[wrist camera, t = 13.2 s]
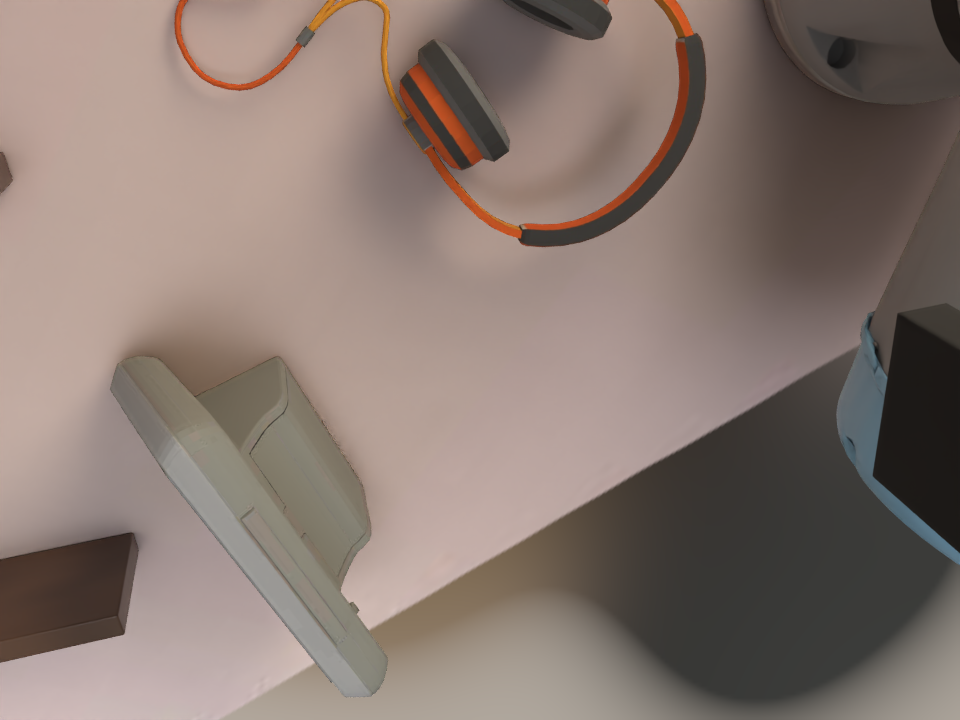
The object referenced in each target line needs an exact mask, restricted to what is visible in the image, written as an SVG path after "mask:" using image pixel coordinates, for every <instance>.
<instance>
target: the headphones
mask: <svg viewBox="0 0 960 720" xmlns="http://www.w3.org/2000/svg"><path fill="white" fill-rule="evenodd" d="M187 1H188V0H180V1H179V3H178V6H177V9H176V13H175V23H174V24H175V35H176V39H177V43H178V45H179V48H180V50H181V52H182V54H183V56H184V58H185V60H186V61H187V62H188V64H189V65H190V67H191V68H192V70H193V71H194V72H195V73H196V74H197V75H198V76H199V77H201V78H202V79H203V80H205V81H207V82H209V83H210V84H212V85H214V86H218V87H221V88H224V89H229V90H239V91H241V90H248V89H252V88H255V87H257V86H260V85H262V84H264V83H265V82H267V81H268V80H270V79H272V78H273V77H274V76H276V75H277V74H278V73H279V72H281V71H282V70H283V69H284V68H285V67H286V66H287V65H288V64H289V62H290V61H291V60H292V59H293V58H294V57H295V55H296V54H297V53H298V51H299V50H300V49H301V47H302V46H303V47H304V48H305V46H306V45H307V44H308V42H309V41H310V40H311V38H312V37H313V36H314V34H315V33H314V31H315V30H316V29H317V28H318V27H319V26H320V25H321V24H322V23H323V22H324V21H325V20H326V19H327V18H328V17H330V16H331V15H332V14H333V13H334V12H336V11H337V10H339V9H340V8H342V7H344V6H346V5H348V4H350V3H353V2H357V1H361V0H341V1H340V2H338V3H337V4H335V5H333V4H334V3H335V1H336V0H328V1H327V2H326V4H325V5H324V6H323V7H322V9H321V10H320V11H319V12H318V14H317V15H316V16H315V18H314V19H313V21H312V22H311V24H310V25H309V26H308V27H307V26H306V27H305V28H304V29H303V31H302V32H301V33H300V35H299V36H298V37H297V39H296V41H297V42H298V43H297V44H296V45H295V47H294V48H293V49H292V51H291V52H290V53H289V54H288V56H287V57H286V58H285V59H284V60H283V61H282V62H281V63H280V64H279V65H278V66H277V67H276V68H275V69H273V70H272V71H271V72H270V73H268V74H267V75H265V76H263V77H262V78H260V79H258V80H256V81H253V82H251V83H247V84H241V85H238V84H228V83H224V82H221V81H218V80H215V79H213V78H211V77H209V76H208V75H206V74H204V73H203V72H202V71H201V70H200V69H199V68H198V67H197V66H196V64H195V63H194V61H193V60H192V58H191V57H190V55H189V54H188V51H187V49H186V47H185V45H184V43H183V39H182V35H181V25H180V24H181V16H182V10H183V8H184V6H185V4H186V2H187ZM367 1H371V2H373V3H375V4H377V5H378V6H379V7H380V8H381V9H382V10H383V13H384V24H383V35H382V46H381V61H382V71H383V76H384V81H385V84H386V87H387V90H388V93H389V95H390V97H391V99H392V101H393V103H394V105H395V107H396V109H397V110H398V112H399V114H400V115H401V117H402V118H403V125H404V127H405V128H406V130H407V131H408V133H409V134H410V136H411V137H412V139H413V140H414V141H415V143H416V144H417V146H418V147H419V148H420V150H421V151H422V152H423V153H424V154H427V156H428V157H429V159H430V161H431V162H432V164H433V166H434V167H435V168H436V170H437V171H438V173H439V174H440V175H441V177H442V178H443V179H444V181H445V182H446V184H447V185H448V186H449V187H450V188H451V189H452V190H453V191H454V193H455V194H456V195H457V196H458V197H459V198H460V199H461V201H462V202H463V203H464V204H465V205H466V206H467V207H468V208H469V209H470V210H471V211H472V212H473V213H474V214H475V215H476V216H477V217H478V218H480V219H481V220H482V221H484V222H485V223H487V224H488V225H489V226H491V227H492V228H494V229H496V230H498V231H500V232H503V233H505V234H507V235H510V236H513V237H516V238H518V240H519V241H520V243H521V244H522V245H525V246H535V247H552V246H564V245H569V244H575V243H580V242H583V241H586V240H589V239H592V238H595V237H597V236H599V235H602V234H604V233H606V232H608V231H610V230H612V229H613V228H615V227H616V226H618V225H620V224H621V223H623V222H625V221H626V220H627V219H629V218H630V217H631V216H632V215H634V214H635V213H636V212H637V211H639V210H640V209H641V208H642V207H643V206H644V205H645V204H646V203H647V202H648V201H649V200H650V199H651V198H652V197H653V196H654V195H655V194H656V193H657V192H658V191H659V190H660V188H661V187H662V186H663V185H664V184H665V183H666V181H667V180H668V179H669V178H670V177H671V175H672V174H673V172H674V171H675V169H676V168H677V166H678V165H679V164H680V162H681V161H682V159H683V157H684V155H685V153H686V151H687V149H688V147H689V146H690V144H691V142H692V140H693V137H694V134H695V132H696V129H697V126H698V124H699V121H700V117H701V113H702V108H703V104H704V100H705V88H706V65H705V54H704V48H703V42H702V40H701V37H700V36H699V35H698V34H697V33H696V34H694V33H693V31H692V29H691V26H690V24H689V21H688V19H687V17H686V15H685V14H684V12H683V10H682V9H681V7H680V5H679V4H678V3H677V1H676V0H655V1H656V3H657V4H658V5H659V6H660V7H661V8H662V9H663V10H664V12H665V13H666V15H667V16H668V18H669V20H670V21H671V23H672V25H673V27H674V29H675V32H676V34H677V36H678V39H676V52H677V57H678V63H679V91H678V100H677V105H676V109H675V113H674V117H673V120H672V122H671V125H670V128H669V130H668V133H667V135H666V137H665V139H664V141H663V143H662V145H661V146H660V148H659V150H658V152H657V153H656V155H655V156H654V157H653V159H652V160H651V162H650V163H649V165H648V166H647V167H646V168H645V169H644V171H643V172H642V173H641V174H640V175H639V176H638V178H637V179H636V180H635V181H634V182H633V183H632V184H631V185H630V186H629V187H628V188H627V189H626V190H625V191H624V192H623V193H622V194H620V195H619V196H618V197H617V198H616V199H614V200H613V201H612V202H610V203H609V204H607V205H606V206H604V207H603V208H601V209H599V210H598V211H596V212H594V213H592V214H590V215H588V216H585V217H583V218H580V219H577V220H574V221H570V222H565V223H560V224H543V225H542V224H522V225H519V227H518V226H515V225H512V224H508V223H506V222H504V221H502V220H500V219H498V218H496V217H494V216H492V215H491V214H489V213H488V212H487V211H485V210H484V209H483V208H481V207H480V206H479V205H478V204H477V203H476V202H475V201H474V200H473V199H472V198H471V197H470V196H469V195H468V194H467V192H466V191H465V190H464V189H463V188H462V187H461V186H460V184H459V183H458V182H457V181H456V180H455V179H454V178H453V176H452V175H451V174H450V173H449V171H448V170H447V168H446V167H445V166H444V164H443V163H442V161H441V160H440V158H439V157H438V155H437V153H436V152H435V150H434V148H435V149H436V150H437V151H438V152H439V154H440V155H441V157H442V158H443V159H444V160H445V161H446V162H447V163H448V164H449V165H450V166H451V167H453V168H457V169H460V170H463V169H466V168H468V167H471V166H473V165H474V164H476V163H477V162H479V161H480V160H481V159H483V158H484V159H486V160H490V161H493V162H495V161H496V160H498V159H499V158H500V157H502V156H503V155H504V154H506V153H507V152H509V143H510V140H509V138H508V135H507V133H506V130H505V128H504V126H503V125H502V123H501V121H500V119H499V117H498V116H497V114H496V113H495V111H494V109H493V108H492V106H491V105H490V103H489V102H488V100H487V99H486V97H485V96H484V94H483V92H482V91H481V89H480V88H479V86H478V85H477V83H476V82H475V81H474V79H473V78H472V76H471V75H470V73H469V72H468V70H467V69H466V68H465V66H464V65H463V64H462V62H461V61H460V60H459V58H458V57H457V56H456V55H455V53H454V52H453V51H452V50H451V49H450V48H449V47H448V46H447V45H446V44H445V43H443V42H440V41H437V40H434V39H433V40H432V41H430V42H429V43H428V44H426V45H425V46H424V47H422V48H421V49H420V50H419V52H418V62H419V63H418V64H417V65H415V66H414V67H413V68H411V69H410V70H409V71H407V73H406V74H405V75H404V76H403V78H402V79H401V80H400V95H401V97H402V99H403V101H404V103H405V105H406V106H407V108H408V109H409V111H410V113H411V115H410V116H409V117H408V116H407V114H406V113H405V111H404V109H403V108H402V106H401V105H400V103H399V101H398V99H397V97H396V95H395V93H394V90H393V87H392V84H391V81H390V78H389V72H388V64H387V44H388V33H389V22H390V14H389V10H388V7H387V5H385V4H384V3H383V2H382V1H381V0H367ZM503 1H504V2H505V3H507V4H508V5H509V6H511V7H513V8H515V9H516V10H518V11H520V12H521V13H523V14H525V15H527V16H528V17H530V18H532V19H534V20H537V21H539V22H541V23H543V24H545V25H547V26H549V27H551V28H553V29H556V30H558V31H561V32H563V33H566V34H568V35H571V36H575V37H578V38H582V39H586V40H595V39H598V38H602V37H603V36H604V34H605V32H606V30H607V28H608V26H609V24H610V22H611V20H612V16H611V14H610V12H609V9H608V7H607V4H608V2H609V0H503ZM332 5H333V6H332ZM331 6H332V7H331ZM330 7H331V8H330Z"/></svg>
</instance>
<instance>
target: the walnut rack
mask: <svg viewBox="0 0 960 720" xmlns="http://www.w3.org/2000/svg"><path fill="white" fill-rule="evenodd" d="M11 182H12V177H11V174H10V171H9V168H8V165H7V162H6V159H5V156H4V153H3V152H0V194H1V193H2V192H3V191H4V190H5V189H6V188H7V186H8V185H9V184H10V183H11ZM138 551H139V550H138V547H137V544H136V541H135V538H134V535H133V534H132V533H129V534H124V535H119V536H115V537H110V538H105V539H100V540H95V541H90V542H86V543H81V544H76V545H71V546H66V547H61V548H56V549H52V550H47V551H42V552H37V553H32V554H27V555H23V556H18V557H13V558H8V559H3V560H0V663H1V662H5V661H9V660H14V659H18V658H23V657H27V656H32V655H36V654H40V653H45V652H49V651H54V650H58V649H62V648H67V647H71V646H76V645H80V644H85V643H89V642H93V641H98V640H102V639H107V638H111V637H116V636H120V635H123V634H125V628H126V622H127V616H128V610H129V604H130V598H131V592H132V586H133V580H134V574H135V568H136V562H137V557H138Z"/></svg>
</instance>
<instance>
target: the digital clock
mask: <svg viewBox="0 0 960 720" xmlns="http://www.w3.org/2000/svg"><path fill="white" fill-rule="evenodd" d="M110 390H111V392H112V393H113V395H114V396H115V398H116V399H117V401H118V402H119V404H120V405H121V408H122V409H123V411H124V412H125V414H126V415H127V417H128V418H129V420H130V421H131V423H132V424H133V426H134V427H135V429H136V430H137V432H138V434H139V435H140V437H141V438H142V440H143V441H144V443H145V444H146V446H147V447H148V449H149V450H150V452H151V453H152V455H153V456H154V458H155V459H156V461H157V462H158V464H159V466H160V467H161V469H162V470H163V472H164V473H165V475H166V476H167V477H168V479H169V480H170V481H171V482H172V484H173V485H174V486H175V487H176V489H177V490H178V491H179V492H180V494H181V495H182V496H183V497H184V499H185V500H186V501H187V502H188V504H189V505H190V506H191V507H192V509H193V510H194V511H195V513H196V514H197V515H198V516H199V518H200V519H201V520H202V521H203V523H204V524H205V525H206V526H207V528H208V529H209V530H210V531H211V533H212V534H213V535H214V536H215V538H216V539H217V540H218V541H219V543H220V544H221V545H222V546H223V548H224V549H225V550H226V551H227V553H228V554H229V555H230V556H231V558H232V559H233V560H234V561H235V563H236V564H237V565H238V566H239V568H240V569H241V570H242V571H243V573H244V574H245V575H246V576H247V578H248V579H249V580H250V581H251V583H252V584H253V585H254V586H255V588H256V589H257V590H258V591H259V593H260V594H261V595H262V596H263V598H264V599H265V600H266V602H267V603H268V604H269V605H270V607H271V608H272V609H273V610H274V612H275V613H276V614H277V615H278V617H279V618H280V619H281V620H282V622H283V623H284V624H285V625H286V627H287V628H288V629H289V630H290V632H291V633H292V634H293V635H294V637H295V638H296V639H297V640H298V642H299V643H300V644H301V645H302V647H303V648H304V649H305V650H306V652H307V653H308V654H309V655H310V657H311V658H312V659H313V660H314V662H315V663H316V664H317V665H318V667H319V668H320V669H321V670H322V672H323V673H324V674H325V675H326V677H327V678H328V679H329V680H330V682H333V683H334V684H335V686H336V687H337V688H338V690H339V691H340V692H341V693H342V694H343V695H344V696H345V697H369V696H372V695H373V694H374V693H376V691H377V690H378V689H379V688H380V686H381V684H382V683H383V681H384V678H385V674H386V671H387V663H388V659H387V656H386V654H385V653H384V651H383V650H382V649H381V647H380V646H379V645H378V643H377V642H376V640H375V639H374V638H373V636H372V635H371V634H370V632H369V631H368V629H367V628H366V626H365V625H364V624H363V622H362V621H361V619H360V618H359V617H358V615H357V613H358V611H359V609H358V608H357V606H356V605H355V604H354V602H352V603H348V602H347V600H346V599H345V597H344V596H343V595H342V593H341V592H340V591H341V586H342V583H343V580H344V578H345V575H346V573H347V571H348V569H349V566H350V564H351V562H352V560H353V558H354V557H355V555H356V554H357V552H358V551H359V550H360V549H361V548H363V547H364V545H365V544H366V543H367V542H368V541H369V539H370V536H371V522H370V517H369V513H368V508H367V503H366V499H365V494H364V489H363V486H362V484H361V482H360V481H359V479H358V478H357V476H356V475H355V473H354V472H353V470H352V468H351V467H350V465H349V464H348V462H347V461H346V459H345V458H344V456H343V454H342V453H341V451H340V450H339V448H338V447H337V445H336V443H335V442H334V440H333V439H332V437H331V436H330V434H329V433H328V431H327V429H326V428H325V426H324V425H323V423H322V422H321V420H320V419H319V417H318V415H317V414H316V412H315V411H314V409H313V408H312V406H311V405H310V403H309V401H308V400H307V398H306V397H305V395H304V394H303V392H302V391H301V389H300V387H299V386H298V384H297V383H296V381H295V380H294V378H293V376H292V375H291V373H290V372H289V370H288V369H287V367H286V366H285V364H284V362H283V361H282V359H281V358H280V357H275V358H272V359H270V360H268V361H266V362H264V363H262V364H260V365H258V366H256V367H254V368H252V369H250V370H248V371H246V372H244V373H242V374H240V375H238V376H236V377H234V378H232V379H230V380H228V381H226V382H224V383H222V384H220V385H218V386H216V387H214V388H212V389H210V390H208V391H206V392H204V393H202V394H200V395H198V396H196V397H194V396H193V395H192V394H191V393H190V391H189V390H188V389H187V388H186V387H185V386H184V385H183V384H182V383H181V382H180V381H179V379H178V378H177V377H176V376H175V375H174V374H173V373H172V372H171V371H170V370H169V368H168V367H167V366H166V365H165V364H164V363H163V362H162V361H161V360H160V359H158V358H155V357H147V356H136V357H132V358H128V359H126V360H124V361H122V362H121V363H119V364H118V365H117V367H116V370H115V373H114V376H113V380H112V384H111V387H110Z"/></svg>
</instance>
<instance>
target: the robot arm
mask: <svg viewBox="0 0 960 720" xmlns="http://www.w3.org/2000/svg"><path fill="white" fill-rule="evenodd" d="M764 4H765V8H766V12H767V15H768V18H769V21H770V23H771V26H772V29H773V31H774V33H775V35H776V37H777V39H778V41H779V43H780V44H781V46H782V48H783V49H784V51H785V53H786V54H787V55H788V57H789V58H790V59H791V60H792V62H793V63H794V64H795V65H796V66H797V67H798V68H799V69H800V70H801V71H802V72H803V73H804V74H805V75H806V76H807V77H809V78H810V79H811V80H812V81H814V82H815V83H817V84H819V85H820V86H822V87H824V88H825V89H828V90H830V91H832V92H835V93H837V94H840V95H844V96H847V97H851V98H854V99H858V100H861V101H865V102H871V103H877V104H893V105H909V104H919V103H925V102H930V101H935V100H941V99H946V98H951V97H956V96H960V0H764ZM860 336H861V345H860V347H859V350H858V352H857V355H856V357H855V360H854V362H853V365H852V367H851V370H850V372H849V375H848V377H847V380H846V382H845V385H844V387H843V389H842V392H841V394H840V398H839V401H838V406H837V427H838V433H839V436H840V439H841V443H842V445H843V447H844V448H845V450H846V454H847V456H848V457H849V459H850V460H851V461H852V463H853V464H854V465H855V467H856V468H857V470H858V473H859V474H860V476H861V478H862V480H863V481H864V482H865V483H866V485H867V486H868V487H869V488H870V489H871V491H872V492H873V493H874V494H875V495H876V496H877V497H878V498H879V500H880V501H881V502H882V503H883V504H884V505H885V506H886V507H887V508H888V509H889V510H890V511H891V512H893V513H894V514H895V515H896V516H897V517H898V518H899V519H900V520H901V521H902V522H903V523H905V524H906V525H907V526H908V527H909V528H910V529H912V530H913V531H914V532H915V533H916V534H918V535H919V536H920V537H922V538H923V539H924V540H925V541H927V542H928V543H929V544H931V545H932V546H933V547H934V548H936V549H937V550H939V551H940V552H942V553H943V554H944V555H946V556H947V557H949V558H950V559H951V560H953V561H954V562H956V563H958V564H959V565H960V131H959V133H958V135H957V137H956V139H955V142H954V144H953V146H952V148H951V151H950V153H949V155H948V157H947V160H946V162H945V164H944V166H943V169H942V171H941V173H940V175H939V177H938V180H937V182H936V184H935V186H934V188H933V190H932V192H931V194H930V196H929V199H928V201H927V203H926V205H925V207H924V209H923V211H922V213H921V216H920V218H919V220H918V222H917V224H916V226H915V228H914V230H913V233H912V235H911V237H910V239H909V241H908V243H907V245H906V247H905V249H904V252H903V254H902V256H901V258H900V260H899V262H898V264H897V266H896V269H895V271H894V273H893V275H892V277H891V279H890V281H889V283H888V285H887V288H886V290H885V292H884V294H883V296H882V298H881V300H880V302H879V305H878V307H877V309H876V310H875V311H874V312H871V313H868V315H867V317H866V319H865V321H864V322H863V325H862V328H861V334H860Z"/></svg>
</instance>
